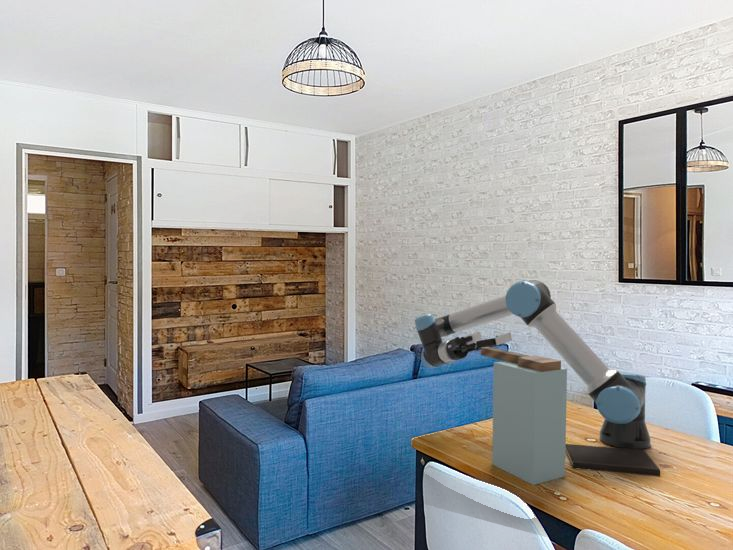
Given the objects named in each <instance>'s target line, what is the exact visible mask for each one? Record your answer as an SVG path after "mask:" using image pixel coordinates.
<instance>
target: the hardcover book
mask: <svg viewBox="0 0 733 550" xmlns="http://www.w3.org/2000/svg"><path fill="white" fill-rule="evenodd" d="M565 453H566V454H567V456H568V459H569V461H570V462H571V465H573V466H572V469H576V468H580V469H579V470H587V469H590V471H599V472H600V471H601V472H611V473H623V474H633V475H634V474H635V475H645V476H656V477H657V476H658V477H660V476H661V469H660V468H659V466H657V464H656V463H655V462H654V461H653V459H652V458H651V457H650V456H649V455H648V453H647V452H646V451H645V450H644V449H626V448H620V447H613V446H612V447H611V446H610V447H609V446H596V445H586V444H585V445H583V444H572V443H571V444H570V443H566V450H565Z"/></svg>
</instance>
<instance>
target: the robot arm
mask: <svg viewBox="0 0 733 550" xmlns="http://www.w3.org/2000/svg"><path fill="white" fill-rule="evenodd" d="M551 296H552V295H551V291H550V289H549V287H548V285H546V284H545V283H544V282H543V281H539V280H536V279H532V280H524V279H523V280H520V281H517V282H515V283H514V284H512V285H510V287H509V288H508V289H507V291H506V294H505V295H502V296H499V297H497V298H493V299H490V300H487V301H486V302H485V301H484V302H483V303H479V304H476V305H473V306H470V307H466V308H464V309H461V310H458V311H455V312H453V313H452V312H451V313H449V314H447V315H442V316H440V317H436V318H435V317H434V315H433V314H432V313H428V314H423V315H420V316H419V317H416V318H415V319H414V324H415V327H416V328H415V329H416V331H417V334H418V336H419V339H420V342H421V345H422V348H423V350H422V351H421V354H420V360H421V363H422V364H423V366H425V367H426V368H430V369H431V368H437V367H440V366H444V365H445V364H446V365H447V364H449V365H452V362H456V361H460V360H463V359H465V358H467V356H468V354H469V353H472V352H473V351H475V352H477V351H478V352H479V351H481V347H491V348H495V347H500V346H503V344H505V343H509V342H512V341H513V339H512V334H511V332H506V333H503V334H501V335H495V337H493V338H487V339H482V334H481V331H478V332H474V333H472V334H469V335H466V336H461V337H459V336H457V337H454V338H452V339H450V340H446V341H444V342H443V337H447V336H450V335H453V334H455V333H458V332H462V331H466V330H469V329H472V328H475V327H478V326H481V325H484V324H487V323H490V322H494V321H497V320H500V319H503V318H504V319H505V318H507V317H509V316H512V315H514V316H516V317H518V318H520V319H521V320H522V321H523V322H524V323H525V324H526V326H527V327H529V328H535V329H536V330H537V331H538V333H540V335H542V336H543V338H544V339H545V340H546V341H547V342H548V343H549V345H550V346H551V347H552V348H553V349H554V350H555V351H556V352H557V354H558V355H559V356H560V357H561V358H562V359H563V360H564V361H565V363H566V364H567V365H568V366H569V367H570V368H571V370H573V371H574V372H575V374H576V375H577V376H578V377H579V378H580V379H581V380H582V382H583V383H584V384H585V385H586V387H587V395H589V397H590V398H591V399H592V400H593V401H594V403H595V404H596V408H597V411H598V412H599V414H600V415H601V416H602V417H603V419H604V420H603V423H602V425H601V428H600V429H599V430H600V431H599V440H600V441H601V442H603V443H604V444H606V445H610V446H612V447H614V448H625V449H637V450H644V449H645V450H646V449H648V448H650V447H651V437H650V433H649V430H648V426H647V423H646V418H645V417H646V389H647V388H646V386H647V381H646V377H645V375H643V374H640V373H633V372H625V371H619V370H617V369H611V368H609V367H608V366H607V365H606V363H605V362H603V361H602V359H601V358H600V357H599V356H598V355H597V353H596V352H594V351H593V350H592V349H591V347H590V346H589V345H588V344H587V343H586V342H585V341H584V339H582V338H581V337H580V335H579V334H578V333H577V332H576V331H575V330H574V328H572V326H570V324H568V322H567V321H566V320H565V319H564V318H563V317H562V315H560V314H559V312H557V303H555V301H554V300H553V299H552V297H551Z"/></svg>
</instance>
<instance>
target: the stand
mask: <svg viewBox="0 0 733 550" xmlns="http://www.w3.org/2000/svg"><path fill="white" fill-rule="evenodd" d="M492 384H493V385H492V386H493V387H492V388H493V389H492V391H493V392H492V393H493V394H492V395H493V397H492V398H493V399H492V449H491V450H492V454H491V456H492V457H491V459H492V460H491V463H492V466H494V467H496V468H499V469H500V470H502V471H504V472H507V473H508V474H511V475H512V476H515V477H517V478H519V479H520V480H523V481H525V482H526V483H529V484H531V485H533V486H534V485H535V486H536V485H539V484H543V483H546V482H550V481H554V480H557V479H561V478H565V477H566V444H567V443H566V441H567V439H566V437H567V391H568V390H567V388H568V385H567V384H568V368H565V367H561V370H554V371H546V372H541V371H537V370H532V369H528V368H524V367H520V366H518V364H516V363H512V362H507V361H503V360H501V361H495V362H494V361H493V383H492Z"/></svg>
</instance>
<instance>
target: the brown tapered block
mask: <svg viewBox="0 0 733 550" xmlns="http://www.w3.org/2000/svg"><path fill="white" fill-rule="evenodd" d="M480 356H483V357H487V358H491V359H496V360H499V361H507V362H512V363H516V364H518V366H520V367H524V368H528V369H532V370H537V371H541V372H546V371H554V370H561V368H562V360H559V359H555V358H549V357H545V356H540V355H527V354H522V353H517V352H514V351H508V350H504V349H499V348H495V347H492V348H491V347H481V350H480Z"/></svg>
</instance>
